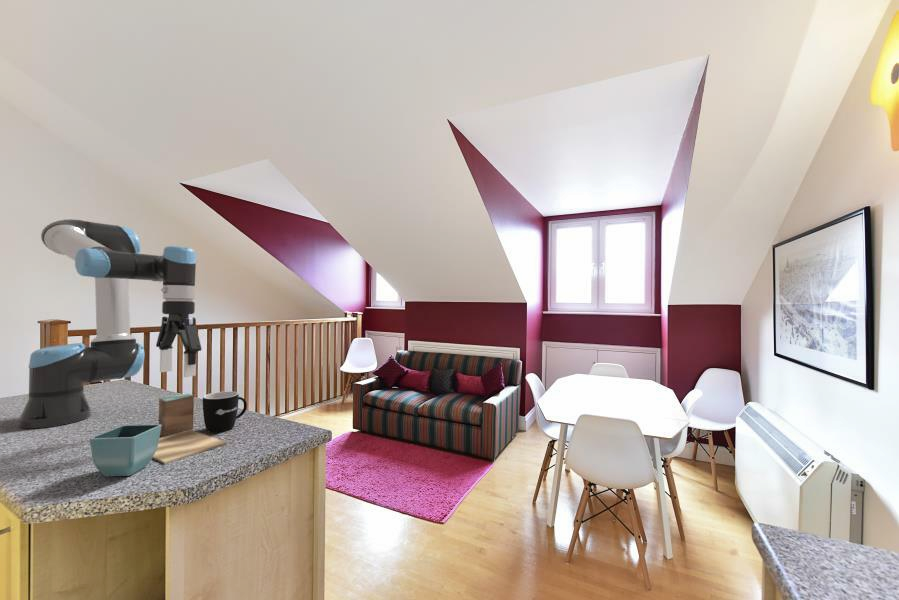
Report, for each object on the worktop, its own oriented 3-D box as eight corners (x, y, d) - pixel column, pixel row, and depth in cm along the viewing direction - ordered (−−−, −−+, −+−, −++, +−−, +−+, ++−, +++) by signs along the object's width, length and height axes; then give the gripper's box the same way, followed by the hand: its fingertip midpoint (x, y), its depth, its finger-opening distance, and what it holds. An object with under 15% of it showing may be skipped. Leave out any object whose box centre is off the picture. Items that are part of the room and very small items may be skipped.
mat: (130, 448, 92) (130, 446, 92) (191, 431, 104) (191, 430, 104) (164, 464, 83) (164, 461, 83) (226, 444, 96) (226, 442, 96)
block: (158, 434, 103) (159, 398, 103) (186, 426, 109) (186, 393, 109) (165, 436, 101) (166, 400, 101) (193, 429, 107) (193, 395, 107)
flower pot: (121, 463, 84) (122, 424, 84) (162, 462, 84) (162, 423, 85) (86, 482, 75) (87, 438, 75) (132, 480, 76) (133, 437, 76)
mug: (211, 437, 101) (212, 400, 101) (196, 430, 105) (196, 395, 106) (254, 425, 111) (254, 391, 111) (238, 419, 116) (239, 388, 116)
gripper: (143, 300, 108) (141, 371, 108) (186, 300, 96) (185, 381, 95) (172, 300, 114) (170, 367, 114) (216, 300, 102) (215, 376, 102)
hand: (177, 374), depth 105 cm, fingers open, 13 cm apart
